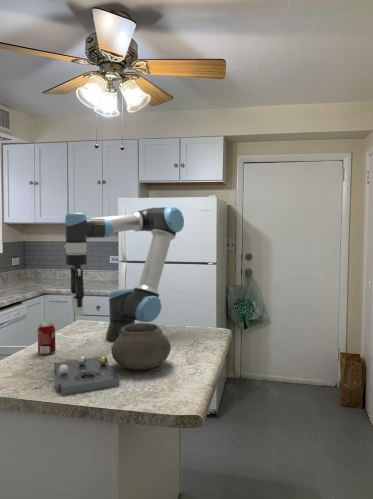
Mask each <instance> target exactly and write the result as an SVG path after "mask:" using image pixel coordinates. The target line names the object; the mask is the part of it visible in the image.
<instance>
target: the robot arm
mask: <svg viewBox="0 0 373 499" xmlns="http://www.w3.org/2000/svg"><path fill="white" fill-rule="evenodd" d="M184 218H185V217H184V216H183V213H182V211H181V210H180V209H179V208H177V207H175V206H173V207H172V206H166V207H165V206H163V207H150V208H145V209H142V210H136V211H132V212H131V213H129V214H128V213H126V214H125V213H124V214H118V215H109V216H108V215H107V216H98V217H96V216H95V217H87V214H86V212H85V213H84V212H68V213H66V214H65V219H64V220H65V221H64V222H65V223H64V226H65V227H64V228H65V229H64V230H65V231H64V232H65V245H64V246H63V248H65V254H66V255H65V263H66V265H67V266H70V293H71V295H70V296H71V297H70V298H71V311H74V312H75V314H74V315H75V317H80V316H81V317H82V316H84V297H85V293H84V292H85V291H84V273H83V272H84V270H83V269H82V267H81V266H82V265H83V266H84V265H87V262H88V258H87V250H88V249H87V248H88V247H87V244H88V243H87V239H96V238H97V239H99V238H100V239H102V238H103V239H104V238H109V237H111V236H112V235H113V233H118V232H119V233H120V232H126V231H127V232H128V231H135V232H150V233H151V234H152V237H151V242H150V244H149V245H150V246H149V248H148V251H147V255H146V259H145V262H144V266H143V269H142V273H141V276H140V280H139V283H138V285H136V286H134V288H125V289H124V288H123V289H115V290H112V291H110V292H109V298H108V303H109V305H108V308H109V323H108V327H107V331H106V335H105V341H107V342H109V343H114V342H115V340H116V339H117V338H118V337H119V335H120V333H121V329H122V328H123V327H124V326H127V325H131V324H136V321H138V322H140V323H151V322H153V321H154V320H156V319H157V318H158V316H159V315H160V314H161V311H162V304H161V303H162V302H161V299H160V298H159V297H160V293H159V291H158V288H159V285H160V281H161V277H162V273H163V269H164V265H165V262H166V260H167V256H168V252H169V248H170V245H171V241H172V240H175V239H176V235H177V233H179V232H181V231H182V230H183V229H184V225H185V219H184Z"/></svg>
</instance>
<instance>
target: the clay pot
mask: <svg viewBox="0 0 373 499" xmlns="http://www.w3.org/2000/svg"><path fill="white" fill-rule="evenodd" d="M171 348H172V347H171V342H170V341H169V339H168V337H167V336H165V334H164V333H163V331H162V329H161V328H160V326H159V325H158V324H156V323H151V322H137V323H136V322H135V324H131V325H127V326H124V327H123V328H122V329H121V333H120V335H119V337H118V338H117V339H116V340H115V342H112V345H111V350H110V351H111V352H110V353H111V356H112V359H113V360H114V361H115V362H116V363H117V365H118V366H120V367H122V368H124V369H128V370H133V371H143V370H149V369H153V368H155V367H157V366H159V365H161V364H162V363H164V362H165V361H166V360H167V359H168V358H169V355H170V353H171V350H172V349H171Z"/></svg>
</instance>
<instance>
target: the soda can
mask: <svg viewBox="0 0 373 499" xmlns="http://www.w3.org/2000/svg"><path fill="white" fill-rule="evenodd" d="M38 326H39V327H38V328H37V351H38V352H37V353H38V354H39V355H41V356H49V355H52V354H54V353H55V352H56V327H55V326H54V323H52V322H45V323H39V324H38Z"/></svg>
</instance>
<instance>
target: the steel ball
mask: <svg viewBox="0 0 373 499" xmlns="http://www.w3.org/2000/svg"><path fill="white" fill-rule="evenodd" d="M86 359H87V357H86V356H84V355H80V356H79V357H78V358H77V359H76V360H77V362H78V364H80V365H84V364H85V363H86Z"/></svg>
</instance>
